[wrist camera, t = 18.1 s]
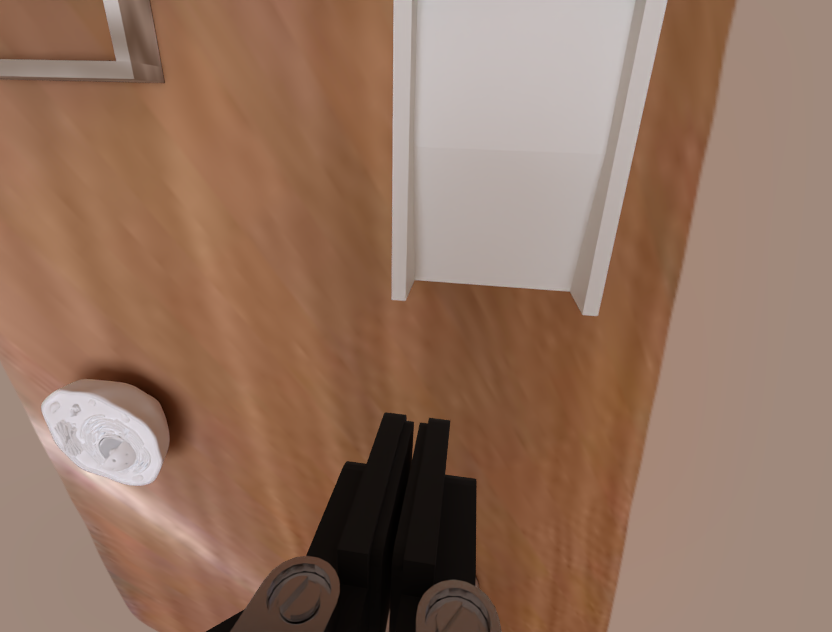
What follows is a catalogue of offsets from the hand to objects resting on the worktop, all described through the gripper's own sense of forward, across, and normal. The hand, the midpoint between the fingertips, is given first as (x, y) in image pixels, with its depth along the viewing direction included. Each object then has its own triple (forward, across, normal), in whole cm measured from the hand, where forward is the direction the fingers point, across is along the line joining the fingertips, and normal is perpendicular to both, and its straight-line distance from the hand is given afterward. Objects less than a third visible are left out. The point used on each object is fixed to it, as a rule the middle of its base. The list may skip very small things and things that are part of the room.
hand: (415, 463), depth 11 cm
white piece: (+25, -3, -6) cm, 26 cm away
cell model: (+25, +31, +19) cm, 44 cm away
